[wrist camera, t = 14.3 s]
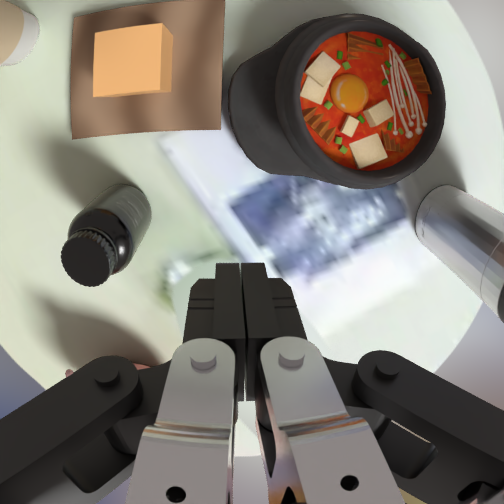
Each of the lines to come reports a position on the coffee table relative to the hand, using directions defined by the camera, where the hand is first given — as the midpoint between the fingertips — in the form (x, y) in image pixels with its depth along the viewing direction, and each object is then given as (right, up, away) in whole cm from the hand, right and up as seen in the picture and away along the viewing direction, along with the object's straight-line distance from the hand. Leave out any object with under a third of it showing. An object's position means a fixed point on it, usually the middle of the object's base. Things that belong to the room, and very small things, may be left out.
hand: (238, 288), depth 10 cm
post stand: (-10, +20, +17) cm, 28 cm away
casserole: (+10, +17, +21) cm, 29 cm away
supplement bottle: (-14, +6, +24) cm, 29 cm away
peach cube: (-10, +19, +16) cm, 27 cm away
